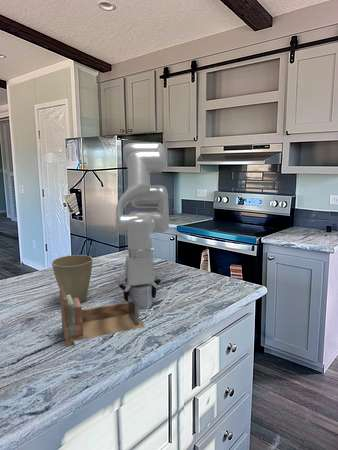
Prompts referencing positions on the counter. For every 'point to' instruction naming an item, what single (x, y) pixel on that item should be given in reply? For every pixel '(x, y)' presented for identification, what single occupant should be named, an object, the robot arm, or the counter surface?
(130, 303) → the bookend
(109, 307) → the rack
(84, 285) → the plant pot
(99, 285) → the counter surface
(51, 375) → the counter surface
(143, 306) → the medicine box
